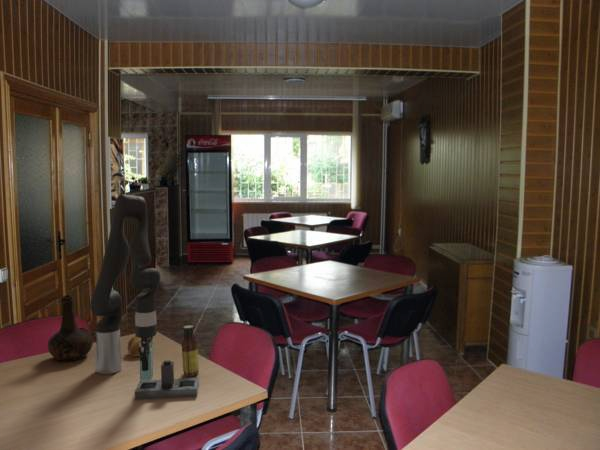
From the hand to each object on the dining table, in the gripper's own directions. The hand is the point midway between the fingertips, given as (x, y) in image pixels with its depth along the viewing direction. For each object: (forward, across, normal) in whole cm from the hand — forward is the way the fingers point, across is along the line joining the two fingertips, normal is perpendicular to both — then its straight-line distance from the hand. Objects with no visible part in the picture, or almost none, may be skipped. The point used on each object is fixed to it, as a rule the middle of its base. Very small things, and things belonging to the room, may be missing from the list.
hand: (146, 367), depth 186 cm
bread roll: (+11, +45, +12) cm, 48 cm away
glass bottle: (+11, +42, +41) cm, 59 cm away
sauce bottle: (+10, +17, -14) cm, 24 cm away
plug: (+4, 0, 0) cm, 4 cm away
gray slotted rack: (+10, 0, -8) cm, 12 cm away
